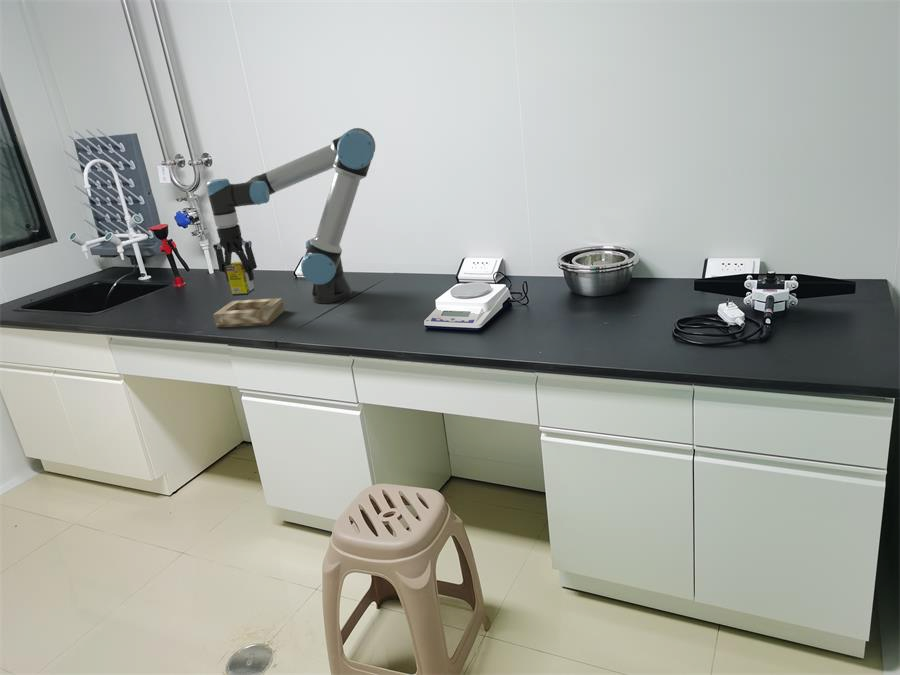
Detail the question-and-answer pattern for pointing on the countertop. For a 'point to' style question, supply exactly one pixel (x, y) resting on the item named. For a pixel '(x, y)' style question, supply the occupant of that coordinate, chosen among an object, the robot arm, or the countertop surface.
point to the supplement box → (237, 279)
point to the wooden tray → (249, 312)
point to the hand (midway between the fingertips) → (243, 289)
